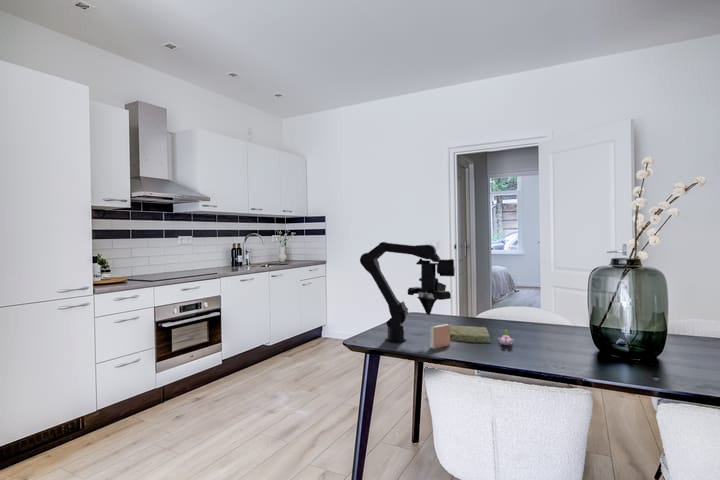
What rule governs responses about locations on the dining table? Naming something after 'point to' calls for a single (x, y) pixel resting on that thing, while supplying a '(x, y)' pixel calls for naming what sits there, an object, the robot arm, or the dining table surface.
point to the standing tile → (440, 336)
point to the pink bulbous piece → (506, 339)
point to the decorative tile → (469, 334)
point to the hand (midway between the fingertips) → (428, 314)
